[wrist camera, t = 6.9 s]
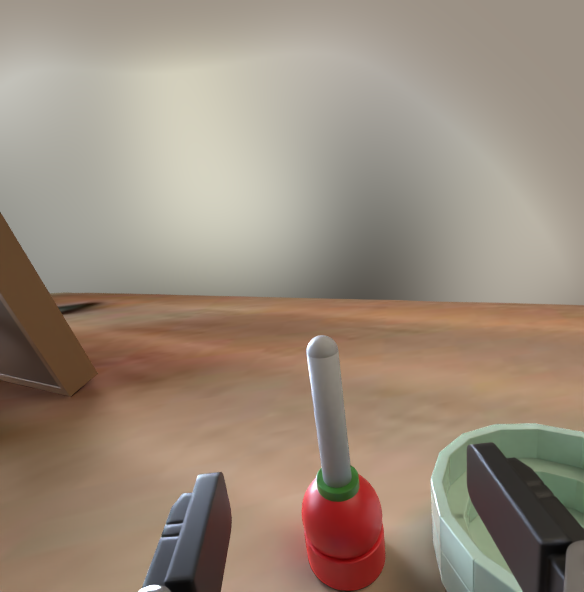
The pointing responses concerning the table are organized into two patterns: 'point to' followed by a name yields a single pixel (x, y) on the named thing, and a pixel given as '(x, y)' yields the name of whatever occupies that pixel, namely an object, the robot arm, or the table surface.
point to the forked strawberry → (338, 488)
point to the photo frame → (35, 328)
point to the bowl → (464, 518)
